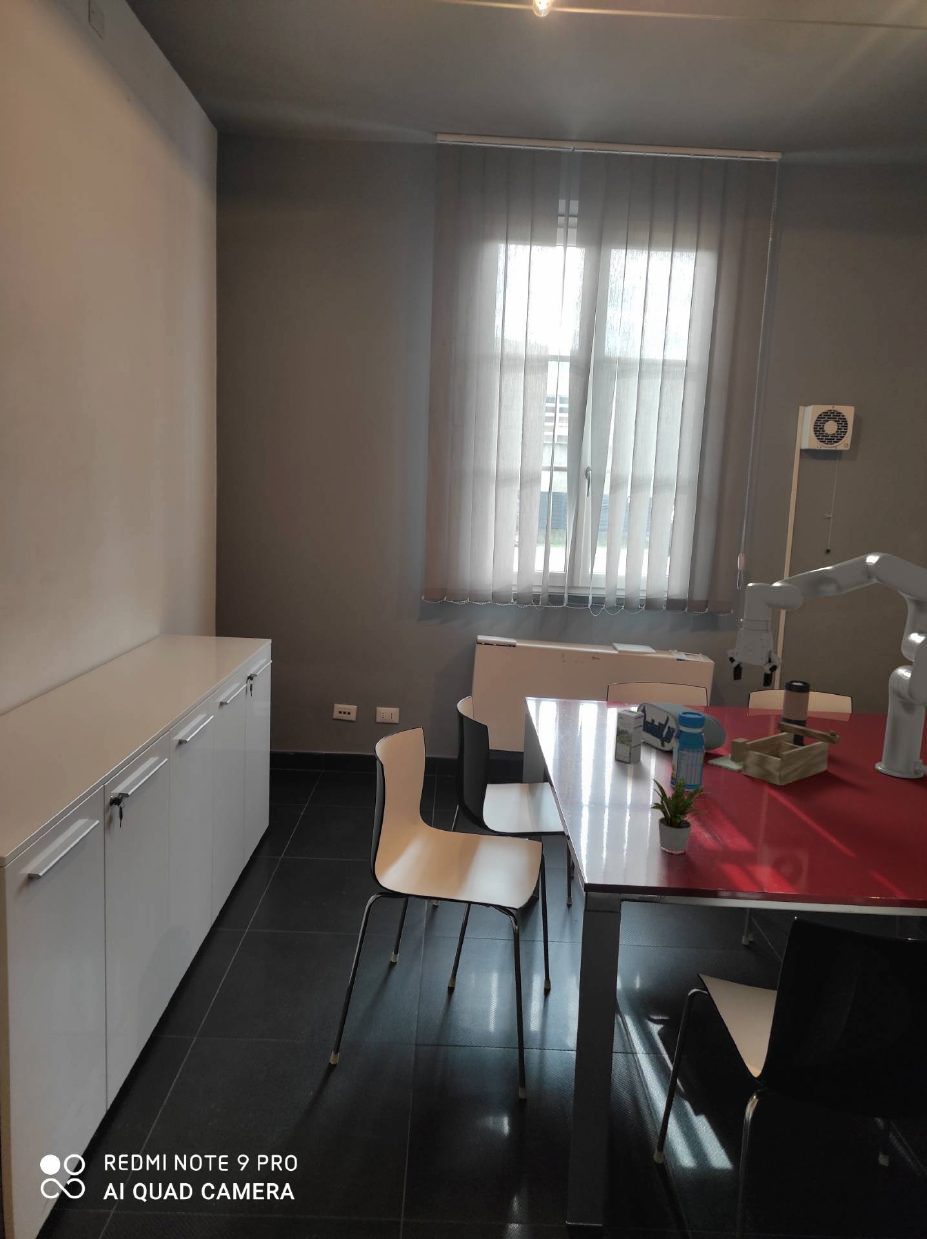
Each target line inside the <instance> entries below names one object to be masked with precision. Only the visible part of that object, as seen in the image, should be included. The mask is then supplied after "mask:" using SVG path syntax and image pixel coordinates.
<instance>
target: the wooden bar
mask: <svg viewBox="0 0 927 1239" xmlns="http://www.w3.org/2000/svg"><path fill="white" fill-rule="evenodd" d="M776 729H777V730H779V731H781V730H782V731H786V732H790V733H794V734H798V735H801V736H804V738H805V737H806V738H809V739H814V740H818V741H824V742H828V743H829V744H832V745H837V744H840V741H841V740H840V739H841V736H840V735H837V731H835V730H830V731H829V732H824V731H821V730H817V729H813V728H809V727H806V728H805V727H801V726H797V725H793V724H790V723H786V722H781V721H780V722H777V728H776Z"/></svg>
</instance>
